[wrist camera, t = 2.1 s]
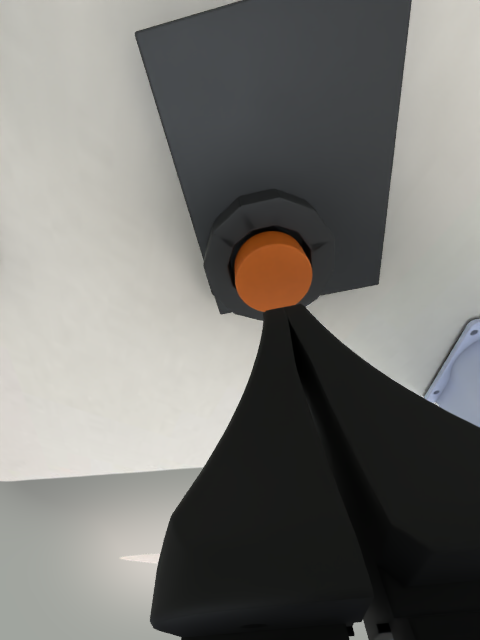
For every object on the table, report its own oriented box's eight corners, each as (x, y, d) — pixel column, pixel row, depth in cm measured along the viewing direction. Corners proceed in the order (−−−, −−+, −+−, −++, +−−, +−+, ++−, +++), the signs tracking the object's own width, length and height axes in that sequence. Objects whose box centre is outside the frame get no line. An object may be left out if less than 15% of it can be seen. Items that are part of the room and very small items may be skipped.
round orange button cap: (306, 287, 15) (314, 305, 14) (241, 300, 15) (243, 319, 14) (301, 223, 13) (311, 235, 11) (227, 238, 13) (227, 253, 12)
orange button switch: (369, 274, 18) (393, 300, 15) (220, 303, 19) (219, 332, 16) (397, -34, 10) (455, -85, 8) (142, 40, 11) (117, 17, 8)
